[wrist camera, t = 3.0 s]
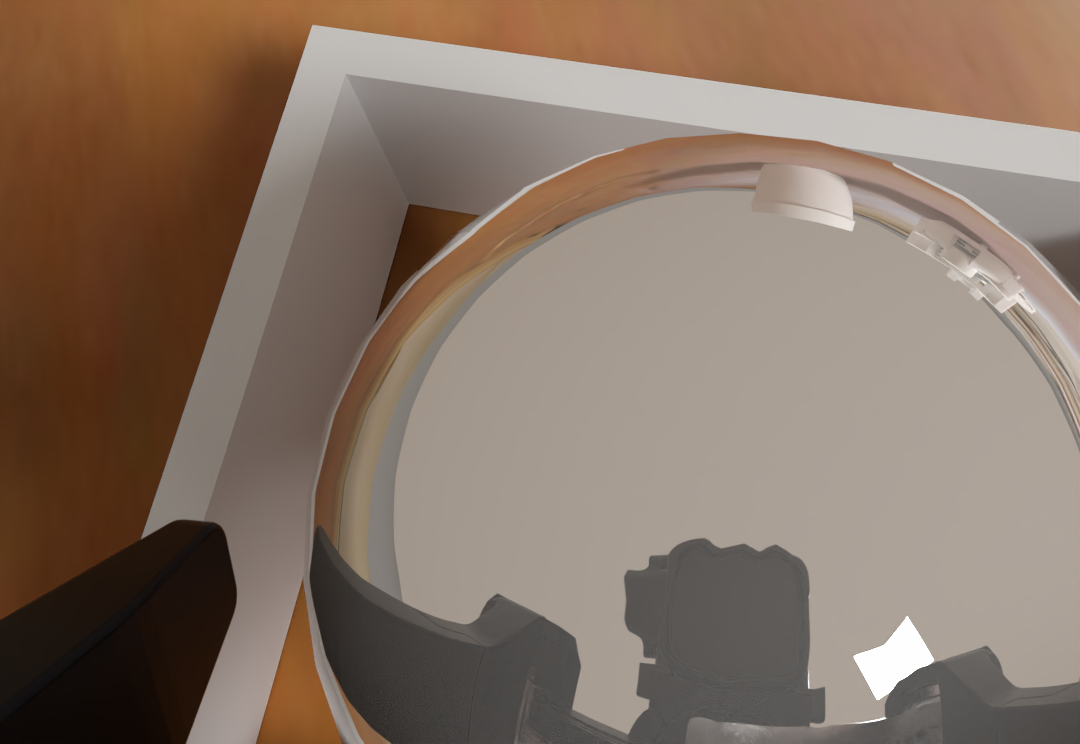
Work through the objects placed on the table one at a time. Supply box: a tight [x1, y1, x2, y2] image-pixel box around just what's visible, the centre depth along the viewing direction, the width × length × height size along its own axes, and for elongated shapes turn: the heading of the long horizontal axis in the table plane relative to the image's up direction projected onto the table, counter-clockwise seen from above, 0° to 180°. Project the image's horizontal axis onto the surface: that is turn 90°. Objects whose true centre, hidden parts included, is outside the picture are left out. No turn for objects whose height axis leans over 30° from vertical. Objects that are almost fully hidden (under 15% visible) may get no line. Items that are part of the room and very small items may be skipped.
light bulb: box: [303, 133, 1080, 744], centre depth 10 cm, size 7×7×12 cm
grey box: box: [141, 25, 1080, 744], centre depth 14 cm, size 15×15×4 cm
